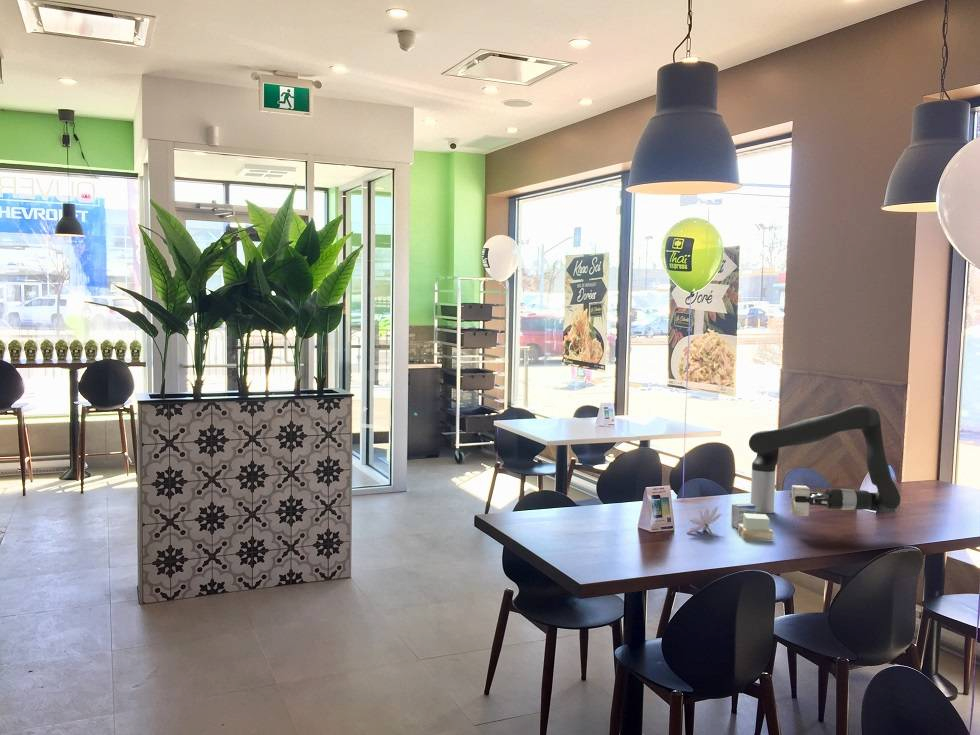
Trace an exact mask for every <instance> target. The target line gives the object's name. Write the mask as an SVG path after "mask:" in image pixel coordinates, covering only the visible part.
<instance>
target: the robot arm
mask: <svg viewBox="0 0 980 735" xmlns="http://www.w3.org/2000/svg"><path fill="white" fill-rule="evenodd" d="M881 423H882V422H881V416H880V413H879V412H878V410H877V409H876V408H875V407H872V406H869V405H864V404H858V405H857V404H856V405H854V406H851V407H849V408H846V409H843V410H841V411H838V412H835V413H830V414H825V415H821V416H820V415H819V416H815V417H811V418H807V419H803V420H800V421H796V422H793V423H791V424H788V425H785V426H783V427H780V428H778V429H777V428H776V429H772V430H761V431H757V432H755V433H753V434H752V435H751V436H750V438H749V441H748V447H749V448H750V451H752V452H753V453H756V458H755V459H754V460H753V461H752V463H751V487H750V504H753V505H755V506H756V514H773V513H775V498H776V497H775V495H776V494H775V493H776V492H775V491H776V468H777V466H778V465H777V464H778V462H779V453H780V452H779V450H780V448H784V447H792V446H801V445H807V444H812V443H815V442H820V441H822V440H825V439H828V438H830V437H832V436H833V435H835V434H837V433H842V432H845V431H851V430H852V431H853V430H860V431H861V432H862V434H863V437H864V441H865V444H866V458H865V460H866V467H867V472H868V475H869V478H870V481H871V484H872V485H874V486H876V489H877V491H878V492H869V491H868V490H865V489H864V490H862V489H850V488H849V489H848V488H833V487H832V488H829V487H827V488H826V489H825V492H824V493H822V492H820V491H816V490H810V496H795V502H802V503H807V504H809V506H810V505H811V506H822V507H826V508H827V509H828V510H838V511H839V510H844V511H845V510H846V511H849V510H851V511H852V510H860V511H861V510H862V511H864V510H867V511H872V512H873V511H874V512H881V513H883V512H884V513H885V512H891V511H892V510H893V511H894V510H895V509H897V508H899V507H900V505H901V494H900V492H899V489H898V488H897V485H896V484H895V481H894V480H893V478H892V475H891V471H890V467H889V464H888V459H887V456H886V451H885V447H884V440H883V434H882V433H883V432H882V424H881ZM791 495H792V492H790V496H789V497H790V499H791Z"/></svg>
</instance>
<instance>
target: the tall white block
mask: <svg viewBox="0 0 980 735" xmlns="http://www.w3.org/2000/svg"><path fill="white" fill-rule="evenodd" d="M810 491H811V488H810V487H808V486H807V485H795V484H793V485H791V493H792V495H791V494H790V495H791V498H790V513H791V514H792V515H794V516H799V517H800V516H802V517H803V516H805V517H806V516H807V517H809V515H810V504H807V503H802V502H795V496H810Z"/></svg>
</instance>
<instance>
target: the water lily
mask: <svg viewBox="0 0 980 735" xmlns="http://www.w3.org/2000/svg"><path fill="white" fill-rule="evenodd" d="M718 508H719V507H718V506H716V507H714V508H713V510H712V511H711V509H710V510H709V508H706V509H705V510H704V509H701V510H700V511H699V517H696V516H692V517H691V519H689V522H690V523H692V524H693V525H695V526H692V527H690V528H689V531H687V532H686V535H688V534H692V533H695V532H697V531H699V530H701V529H702V531H707V530H708V532H709V534H710V535H711V537H714V534H713V533H712V530H711V529H710V525H711V524H713V523H715V522H716V521H717V520H718V519H719V518H720V517H721V515H722V513H719V514H717V515H716V513H717V511H718Z"/></svg>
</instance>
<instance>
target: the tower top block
mask: <svg viewBox="0 0 980 735" xmlns="http://www.w3.org/2000/svg"><path fill="white" fill-rule="evenodd" d="M743 525H744V527H745V528H746V529H752V530H769V528H770V518H769V517H768V515H767V513H756V514H749V513H743Z"/></svg>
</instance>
